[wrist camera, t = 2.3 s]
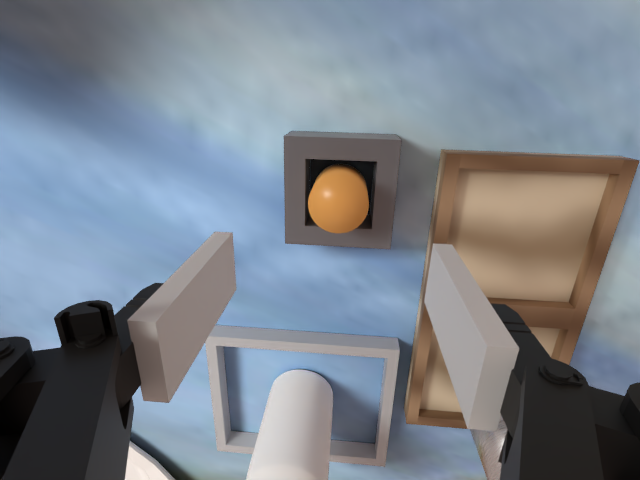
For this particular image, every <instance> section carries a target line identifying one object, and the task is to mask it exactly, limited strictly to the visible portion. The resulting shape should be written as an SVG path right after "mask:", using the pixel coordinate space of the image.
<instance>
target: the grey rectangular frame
mask: <svg viewBox="0 0 640 480" xmlns="http://www.w3.org/2000/svg"><path fill="white" fill-rule="evenodd" d="M205 344H206V353H207V362H208V371H209V380H210V389H211V398H212V406H213V415H214V424H215V433H216V442H217V451H225V452H236V453H246V454H253V451H254V448H255V444H256V441H257V437H258V433H250V432H239V431H231V425H230V414H229V403H228V392H227V381H226V370H225V359H224V348H223V346H229V347H242V348H256V349H269V350H283V351H296V352H309V353H323V354H336V355H350V356H363V357H376V358H385V359H384V368H383V377H382V386H381V395H380V404H379V413H378V422H377V431H376V440H375V444H372V443H361V442H350V441H339V440H331V443H330V458H329V461H331V462H341V463H352V464H363V465H373V466H384V467H385V462H386V454H387V446H388V439H389V431H390V423H391V415H392V408H393V400H394V392H395V384H396V377H397V369H398V361H399V353H400V348H399V343H398V338H393V337H379V336H364V335H350V334H336V333H322V332H308V331H294V330H280V329H265V328H251V327H237V326H223V325H215V326H214V328H213V329H212V331H211V333H210V335H209V336H208V338H207V340H206V341H205Z"/></svg>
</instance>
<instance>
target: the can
mask: <svg viewBox="0 0 640 480" xmlns="http://www.w3.org/2000/svg"><path fill="white" fill-rule="evenodd" d="M332 411H333V392H332V388H331V386H330V385H329V383H328V382H327V381H326V380H325V379H324V378H323V377H322V376H321V375H319V374H317V373H315V372H312V371H309V370H304V369H295V370H290V371H287V372H285V373H283V374H281V375H280V376H278V377H277V378H276V379H275V381H274V382H273V385H272V387H271V391H270V394H269V397H268V401H267V405H266V408H265V412H264V415H263V419H262V422H261V426H260V430H259V433H258V437H257V441H256V444H255V448H254V451H253V455H252V459H251V462H250V466H249V470H248V474H247V478H246V480H328V473H329V458H330V443H331V427H332Z"/></svg>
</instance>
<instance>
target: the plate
mask: <svg viewBox="0 0 640 480" xmlns="http://www.w3.org/2000/svg"><path fill="white" fill-rule="evenodd" d="M125 480H175V479H174V478H173V477H172V476H171V475H170V474H169V473H168V472H167V471H166V470H165V468H164V467H163V466H162V465H161V464H160V463H159V462H158V461H157V460H156V459H154V458H153V457H152V456H150V455H149V454H147V453H146V452H145V451H143V450H142V449H141V448H139V447H138V446H136V445H135V444H134V443H132V442H131V441H130V443H129V451H128V458H127V466H126V474H125Z"/></svg>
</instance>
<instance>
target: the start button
mask: <svg viewBox="0 0 640 480" xmlns="http://www.w3.org/2000/svg"><path fill="white" fill-rule="evenodd" d="M308 209H309V213H310V215H311V217H312V219H313V221H314V222H315V223H316V224H317V225H318V226H319V227H320V228H322V229H324V230H325V231H328V232H331V233H346V232H349V231H352V230H354V229H355V228H357V227H358V226H359V225H360V224H361V223H362V222H363V221H364V219H365V218H366V216H367V213H368V209H369V200H368V192H367V185H366V181H365V179H364V177H363V175H362V174H361V173H360V172H359V171H358V170H357V169H356V168H355V167H353V166H350V165H348V164H333V165H330V166H328V167H326V168H325V169H324V170H322V171H321V172H320V174H319V175H318V176H317V178H316V181H315V183H314V185H313V188H312V190H311V192H310V195H309V199H308Z"/></svg>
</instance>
